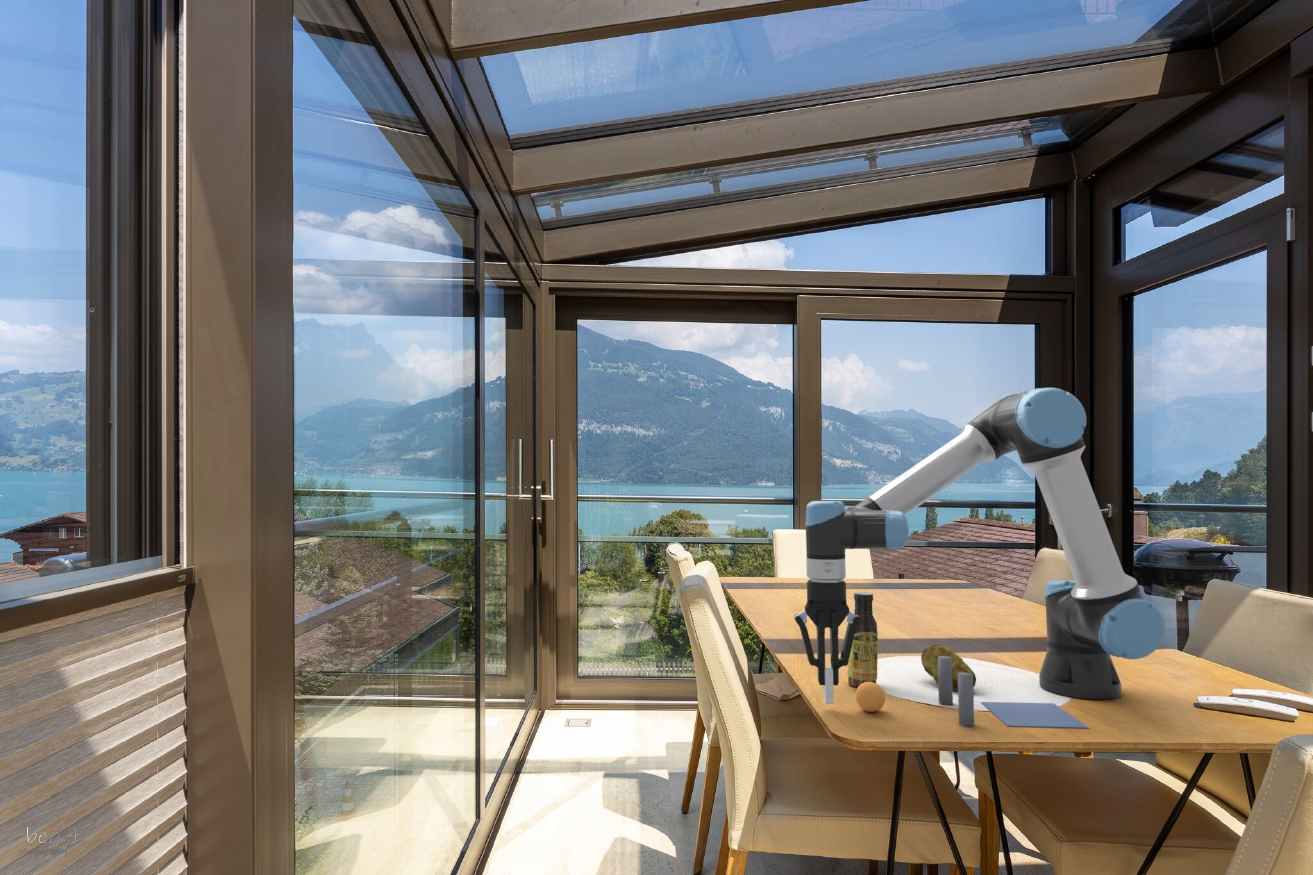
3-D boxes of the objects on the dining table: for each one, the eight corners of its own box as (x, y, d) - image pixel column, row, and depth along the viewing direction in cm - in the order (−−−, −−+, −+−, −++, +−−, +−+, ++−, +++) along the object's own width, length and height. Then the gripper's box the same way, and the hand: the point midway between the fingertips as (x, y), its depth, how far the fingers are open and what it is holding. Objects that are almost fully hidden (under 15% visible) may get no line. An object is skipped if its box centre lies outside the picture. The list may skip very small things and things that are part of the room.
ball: (881, 707, 145) (881, 678, 145) (888, 716, 139) (887, 686, 140) (853, 706, 145) (852, 678, 145) (858, 715, 140) (858, 686, 140)
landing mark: (1053, 704, 146) (1053, 703, 146) (1088, 728, 132) (1088, 727, 132) (980, 702, 147) (980, 701, 147) (1007, 726, 133) (1007, 725, 133)
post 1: (950, 701, 148) (949, 655, 149) (954, 705, 146) (953, 659, 146) (937, 700, 148) (936, 655, 149) (941, 704, 146) (939, 658, 146)
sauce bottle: (852, 689, 157) (850, 595, 158) (844, 681, 163) (842, 590, 164) (883, 689, 157) (881, 595, 158) (873, 680, 163) (871, 590, 164)
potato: (942, 694, 153) (941, 655, 153) (916, 678, 165) (915, 642, 166) (980, 694, 153) (979, 655, 154) (952, 677, 166) (951, 641, 166)
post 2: (971, 721, 136) (970, 672, 136) (976, 726, 133) (975, 676, 134) (957, 721, 136) (955, 672, 136) (961, 726, 133) (960, 676, 134)
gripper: (794, 582, 141) (796, 707, 140) (863, 582, 140) (866, 708, 139) (790, 576, 149) (793, 695, 147) (856, 577, 147) (859, 696, 146)
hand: (828, 701), depth 143 cm, fingers closed
